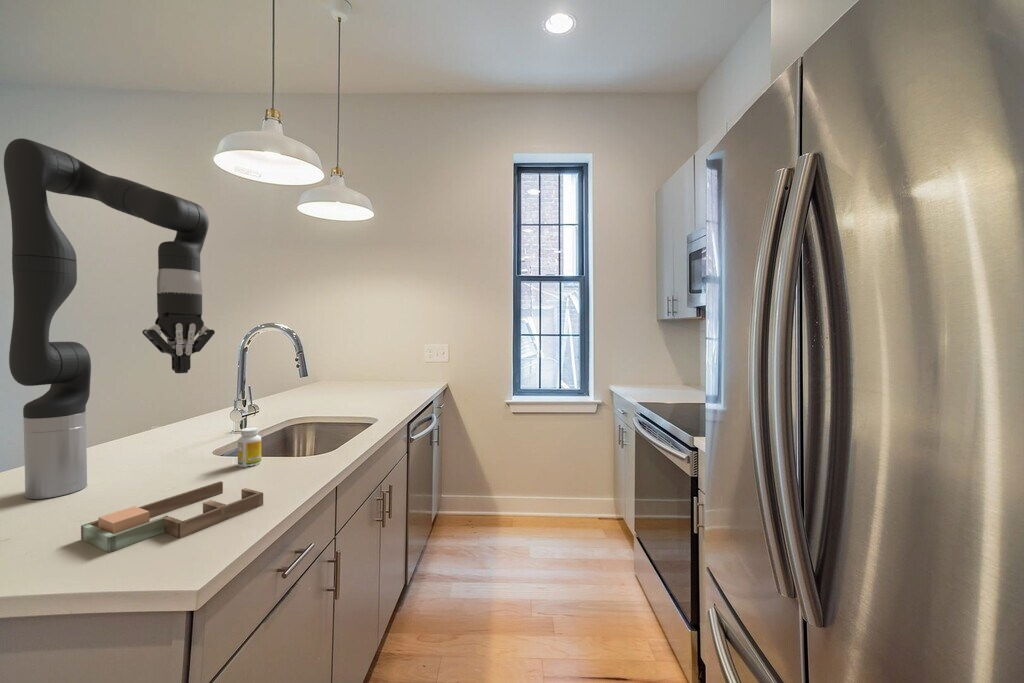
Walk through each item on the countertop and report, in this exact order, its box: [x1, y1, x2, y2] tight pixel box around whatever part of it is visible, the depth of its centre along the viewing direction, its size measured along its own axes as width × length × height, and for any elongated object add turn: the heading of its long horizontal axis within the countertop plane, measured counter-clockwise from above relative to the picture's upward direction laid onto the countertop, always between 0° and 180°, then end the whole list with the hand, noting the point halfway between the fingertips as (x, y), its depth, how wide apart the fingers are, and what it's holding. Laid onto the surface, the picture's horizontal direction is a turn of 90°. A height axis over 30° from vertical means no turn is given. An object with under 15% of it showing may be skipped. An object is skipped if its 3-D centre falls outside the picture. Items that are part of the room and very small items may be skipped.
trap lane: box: [80, 480, 264, 553], centre depth 78 cm, size 15×23×2 cm, turn 156°
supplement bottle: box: [237, 426, 262, 468], centre depth 110 cm, size 5×5×10 cm
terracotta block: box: [97, 505, 150, 534], centre depth 72 cm, size 5×5×4 cm
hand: (181, 372), depth 88 cm, fingers closed
